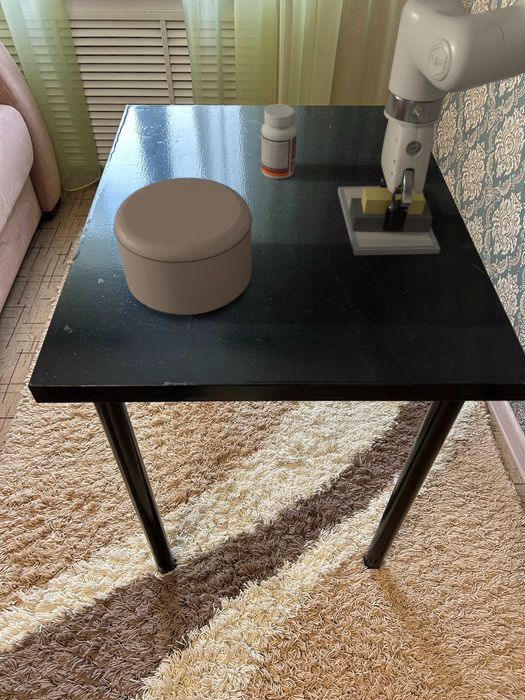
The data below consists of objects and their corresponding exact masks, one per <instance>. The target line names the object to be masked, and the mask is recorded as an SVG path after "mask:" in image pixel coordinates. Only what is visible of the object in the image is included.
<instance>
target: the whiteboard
mask: <svg viewBox="0 0 525 700" xmlns="http://www.w3.org/2000/svg"><path fill="white" fill-rule="evenodd" d="M364 188H380V185H367V186H365V185H364V186H361V185H360V186H359V185H358V186H338V188H337V194H338V198H339V201H340V202H339V203H340V206H341V210H342V214H343V219H344V221H345V225H346V229H347V234H348V237H349V241H350V245H351V248H352V249H351V250H352V254H353V256H391V255H394V256H397V255H399V256H400V255H437V254H438V255H439V254H440V252H441V246H440V245H439V244H440V243H439V242H438V240H437V237H436V235H435V233H434V230H433V228H432V225H431V226H430V230H429V232H404V231H353V229H352V223H351V218H350V212H349V210H350V203H351V198H362V195H363V189H364ZM401 188H402V185H401ZM412 188H413V185H412Z"/></svg>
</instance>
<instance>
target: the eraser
mask: <svg viewBox="0 0 525 700" xmlns="http://www.w3.org/2000/svg"><path fill="white" fill-rule="evenodd" d="M390 193H391V192H390V191H389V189H388V188H364V189H363V195H362V198H351V203H350V210H349V212H350V218H351V223H352V229H353V231H383V229H382V226H383V221H384V217H385V212H386V207H389V202H390ZM400 198H401V194H396V196H395V201H396V200H400ZM432 223H433V214H432V213H431V209H430V207H429V204H428V201H427V199H426V198H425V195H424V192H423V191H422V192H421V193H420V194H417V193H415V191H414V188H412V204H411V206H409V210H408V212H407V216H406V220H405V225H404V229H403V231H404V232H429V230H430V226H431V227H432Z"/></svg>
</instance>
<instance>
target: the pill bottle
mask: <svg viewBox="0 0 525 700" xmlns="http://www.w3.org/2000/svg"><path fill="white" fill-rule="evenodd" d="M295 116H296V110H295V108H293V106H291V105H289V104H284V103H274V104H270V105H268V106H266V107H265V108H264V119H263V120H264V123H263V124H262V125H261V131H260V138H261V139H260V141H261V142H260V145H261V146H260V159H261V160H260V167H261V168H260V170H261V171H260V172H261V173H262V174H263V175H264V176H265V177H267V178H269V179H271V180H284V179H288V178H290V177H291V176H293V174H294V173H295V168H296V154H297V135H298V128H297V125H296V124H295V120H296V119H295Z"/></svg>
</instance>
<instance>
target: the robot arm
mask: <svg viewBox="0 0 525 700" xmlns="http://www.w3.org/2000/svg"><path fill="white" fill-rule="evenodd" d="M401 10H402V11H401V15H400V19H399V25H398V32H397V37H396V43H395V48H394V53H393V61H392V65H391V71H390V77H389V82H388V88H387V92H386V93H387V94H386V100H385V105H384V109H383V114H384V116H385V118H386V119H388V120H387V125H386V129H385V133H384V138H383V143H382V151H381V157H380V162H381V163H380V164H381V169H382V175H381V184H380V185H379V186H380V188H388V189H389V191H390V192H391V193H390V202H389V207H386V212H385V217H384V221H383V226H382V229H383V231H403V229H404V225H405V220H406V216H407V212H408V210H409V206H411V204H412V186H413V188H414V191H415V193H417V194H420V193H421V192H423V190H424V188H425V183H426V179H427V173H428V168H429V164H430V158H431V153H432V147H433V139H434V131H435V124H437V123H438V122H439V121H440V118H441V115H442V111H443V107H444V103H445V99H446V95H447V93H448V94H449V93H451V94H454V93H460V92H464V91H468V90H472V89H477V88H479V87H480V88H481V87H483V86H485V85H489V84H493V83H497V82H501V81H505V80H508V79H512V78H515V77H518V76H521V75H523V74H525V0H518V1H516V2H515V3H513V4H512V5H511V6H507V7H501V8H496V9H490V10H485V11H480V12H477V13H471V14H466V13H467V12H466V7H465V4H464V3H463V2H462V1H461V0H406V2H405V4H404V5H403V8H402V9H401ZM401 186H402V188H401ZM396 194H401V198H400V200H396V201H395V196H396Z"/></svg>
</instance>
